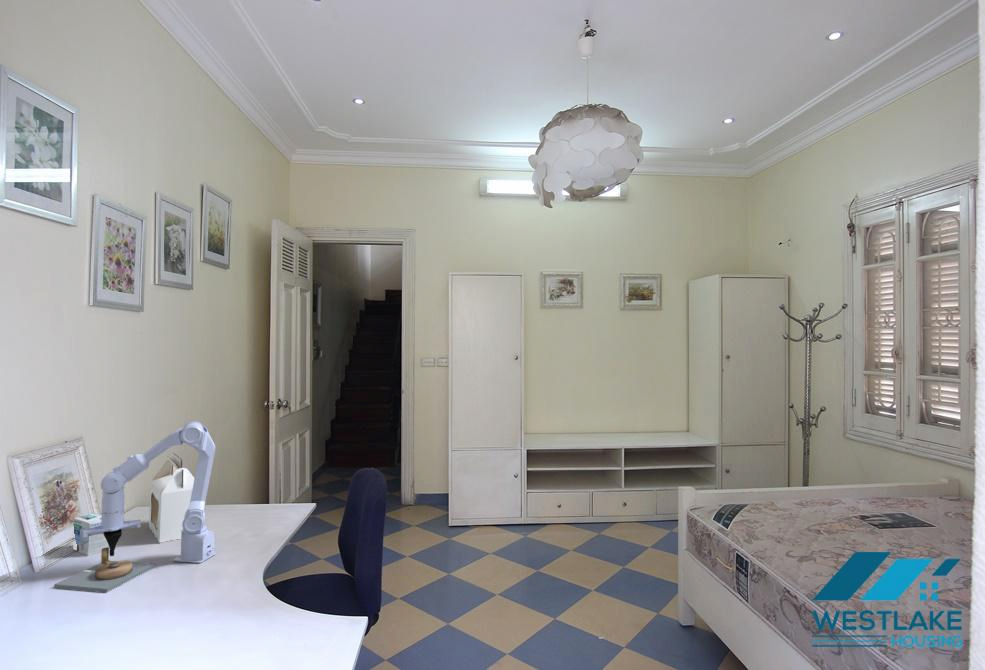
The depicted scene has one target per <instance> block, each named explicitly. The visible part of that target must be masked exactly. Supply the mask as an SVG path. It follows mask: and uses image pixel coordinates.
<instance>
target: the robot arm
mask: <svg viewBox="0 0 985 670" xmlns="http://www.w3.org/2000/svg"><path fill="white" fill-rule="evenodd" d="M183 443H184V444H185V445H188V446H190V447H192V448H193V449H194V450H195V451H196V452H198V459H197V465H196V469H195V474H194V478H195V479H194V484H193V490H192V495H191V500H190V505H189V509H188V510H187V511H186V513H185V516H184V520H183V523H182V527H183V529H182V530H181V539H180V556H178V557H175V558H174V559H173V561H174V562H183V563H194V564H201V563H203V562H204V561H206V560H208V559H210V558H211V557H213V556H215V555H216V554H217V552H216V550H215V549H216V547H215V546H216V545H215V544H216V535H215V533H214V531H211V530H209V529H207V528H208V526H207V525H206V524H205V523H206V522H205V521H206V517H207V513H206V510H205V505H206V499H207V494H208V491H209V490H208V489H209V484H210V479H211V474H212V468H213V463H214V458H215V453H216V444H215V443H214V441H213V439H212V437H211V435H210V432H209V431H208V428H207V427H205V425H204V424H202V423H201V422H199V421H194V420H193V421H189V422H188V423H186V424H185V425H184V426H180V427H179V428H177V429H175V430H174V431H172V432H171V433H169V434H168V435H166V436H165V437H164V438H163V439H161V440H160V441H159V442H157V443H156V444H154V445H153V446H152V447H151V448H149V449H148V450H147V451H145V452H144V453H140V454H139V453H136V454H134V455H132V454H131V455H129V456H128V457H127V460H126V461H124V462H123V463H121V464H120V465H118V466H115V467H114V468H112V471H110V472H108V473H107V474H106V475H105V476H104V477H103V478H102V479H101V482H100V489H101V490H102V497H101V514H100V515H101V525H100V526H97V527H93V528H89V529H85V530H83V538H86V537H88V536H92V535H98V534H103V535H104V537H105V538H106V540H107V542H108V545H109V548H110V550H109V556H110V557H114V556H115V550H116V546H117V544H118V543H119V540H120V539H121V537H122V534H123V530H124V531H125V530H127V529H128V530H129V529H133V528H141V527H142V520H141V519H135V520H134V519H133V520H126V521H125V495H126V494H125V484H126V483H128V482H131V481H132V480H134V479H135V478H136V477H138V476H139V475H141V474H142V473H144V472H145V471H146V470H147V469H149V467H150V462H151V461H153V460H155V458H157V457H159V456H160V455H161V454H163V453H165V452H166V451H168V450H169V449H170V448H171V447H174V446H182V445H183Z"/></svg>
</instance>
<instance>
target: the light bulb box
mask: <svg viewBox="0 0 985 670" xmlns="http://www.w3.org/2000/svg"><path fill="white" fill-rule="evenodd" d="M72 525H73V526H74V534H75V540H76V544H77V551H78V552H77V551H76V552H77V553H80V554H82V555H84V556H87V557H89V556H93V555H95V554H99V553H102V549H103V548H109V545H108V542H107V540H106V538H105V537H104V535H103V534H98V535H92V536H88V537H86V538H83V530H85V529H89V528H93V527H97V526H100V525H101V514H99V513H96V512H95V513H93V512H92V513H90V514H87V515H82V516H77V517H74V518H73V524H72ZM109 549H110V548H109Z"/></svg>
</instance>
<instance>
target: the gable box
mask: <svg viewBox="0 0 985 670" xmlns="http://www.w3.org/2000/svg"><path fill="white" fill-rule="evenodd" d="M166 457H167V459H168V461H166V462H165V463H164V464H163V466H162V467H161V469H160V470H159V471H158V472H157V474H155V476H154V478H153V479H152V480H151V481H150V485H149V487H150V489H149V515H148V516H149V519H148V521H149V523H148V527H149V529H150V531H151V530H152V531H151V532H152V534H153V533H154V534H153V535H155V536H154V537H155V539H156V538H157V539H156V540H158V541H157V542H158V544H161V543H160V542H164V543H166V542H165V541H169V542H171V541H170V540H174V541H177V540H176V539H179V540H181V539H180V538H181V530H182V529H183V527H182V523H183V520H184V516H185V513H186V511H187V510H188V509H189V505H190V500H191V495H192V490H193V484H194V479H195V476H193V474H192V473H191V471H189V469H188V468H186V467H183V459H182V458H181V457H179V456H178V455H177V454H176V453H174V452H172V453H171V457H170V456H168V455H167V456H166Z"/></svg>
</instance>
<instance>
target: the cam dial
mask: <svg viewBox="0 0 985 670" xmlns="http://www.w3.org/2000/svg"><path fill="white" fill-rule="evenodd" d="M100 553H101V555H100V559H101V560H100V563H102V564H104V565H101V566H99V567H98V568H96V570H95V578H97V579H101V580H106V579H114V578H118V577H121V576H124V575H126V574H128V573H130V572H131V571H132V563H133V562H132V561H130V560H129V561H128V560H115V561H116V562H111V561H112V560H110V559H109V556H110V550H109V548H103V549H102V552H100Z"/></svg>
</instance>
